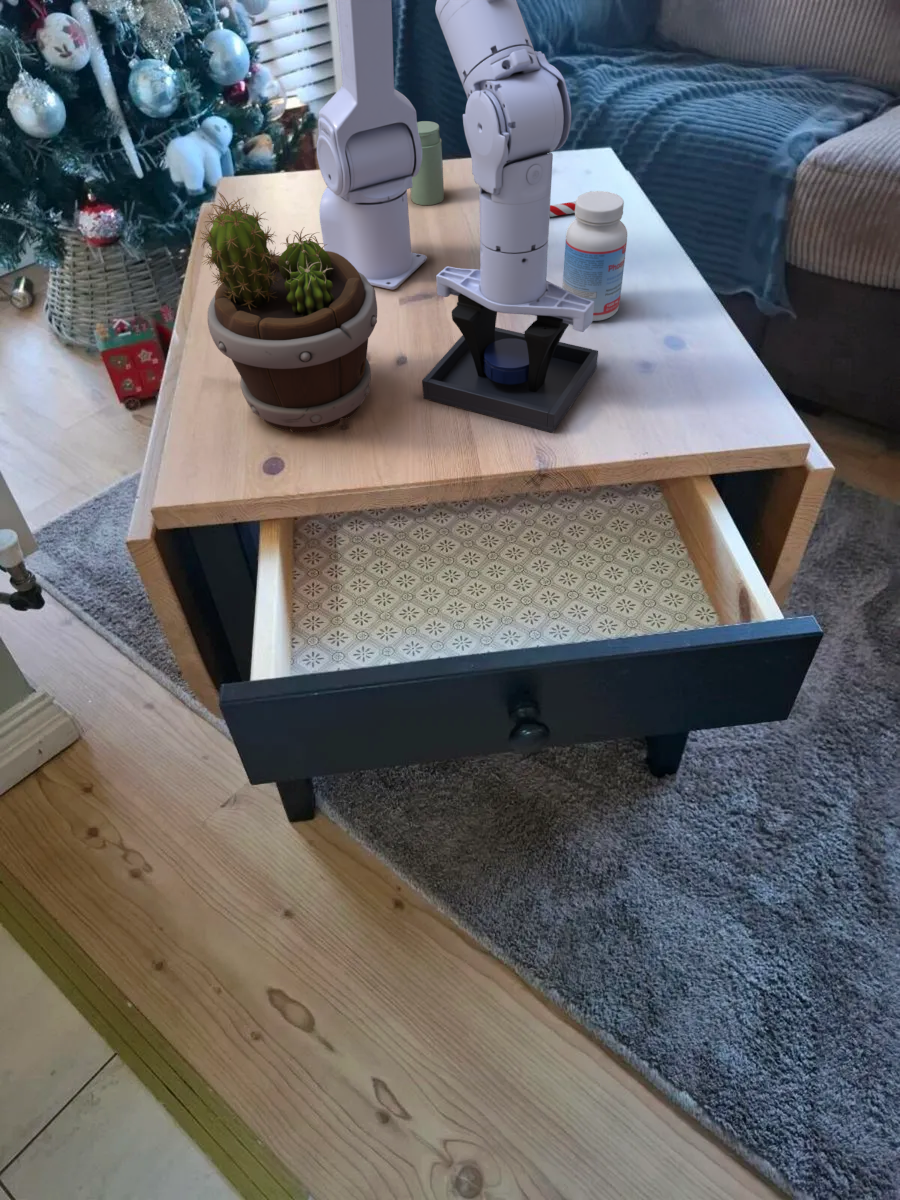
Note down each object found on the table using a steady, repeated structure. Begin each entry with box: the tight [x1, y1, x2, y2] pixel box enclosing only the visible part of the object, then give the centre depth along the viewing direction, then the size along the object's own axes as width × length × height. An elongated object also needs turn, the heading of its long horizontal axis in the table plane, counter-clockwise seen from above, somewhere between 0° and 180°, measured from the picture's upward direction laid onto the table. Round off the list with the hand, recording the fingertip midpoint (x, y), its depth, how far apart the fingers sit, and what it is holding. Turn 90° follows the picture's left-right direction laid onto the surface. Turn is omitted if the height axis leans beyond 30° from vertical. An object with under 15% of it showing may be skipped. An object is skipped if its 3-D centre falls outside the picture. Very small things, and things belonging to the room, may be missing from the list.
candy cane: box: [550, 200, 576, 218], centre depth 106 cm, size 8×1×15 cm
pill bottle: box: [561, 190, 628, 322], centre depth 85 cm, size 6×6×11 cm
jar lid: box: [484, 339, 529, 385], centre depth 78 cm, size 5×5×2 cm
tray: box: [421, 326, 599, 433], centre depth 80 cm, size 13×11×2 cm
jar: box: [409, 120, 445, 206], centre depth 106 cm, size 4×4×9 cm
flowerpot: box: [196, 191, 378, 434], centre depth 72 cm, size 14×15×20 cm
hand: (511, 378), depth 80 cm, fingers closed on jar lid, 5 cm apart
